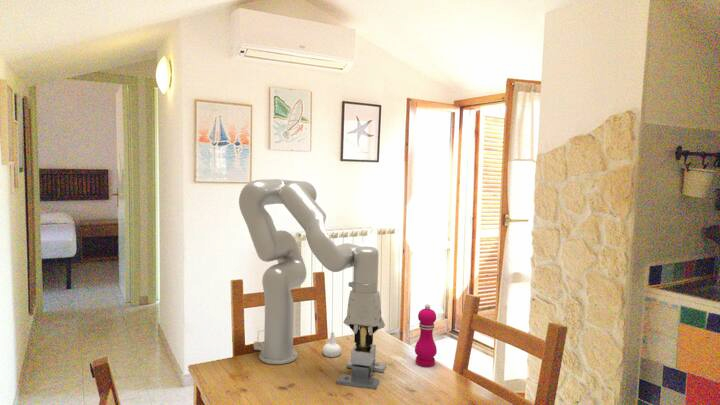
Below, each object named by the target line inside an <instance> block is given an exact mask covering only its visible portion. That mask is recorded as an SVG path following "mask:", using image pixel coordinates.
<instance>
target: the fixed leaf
mask: <svg viewBox="0 0 720 405" xmlns="http://www.w3.org/2000/svg"><path fill="white" fill-rule="evenodd" d="M373 369H374V361H373V363H372V365H371V366H364V365H356V364H352V368H351V371H350V372H351V373H350V374H344V373H340V374H339V376H338V377H337V380H336V385H342V386H348V387H356V388H364V389H371V390H377V388H378V386H379V384H380V378H375V377H373V374H374V371H373Z"/></svg>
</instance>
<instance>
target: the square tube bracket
mask: <svg viewBox="0 0 720 405" xmlns="http://www.w3.org/2000/svg"><path fill="white" fill-rule="evenodd" d="M376 348H377V346H376V344H373V343H372V344H371V345H370V347H369V348H368V352H363V351H359V346H358V347H357V346H356V344H355V345H354V346H353V347H352V349H351V350H350V359H349V360H348V362H347V363H346V368H348V369H352V364H356V365H364V366H371V365H372V363H373V361H374V369H373V372H379V373H384V371H385V369H386V368H387V363H386V362H381V361H376Z"/></svg>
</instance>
